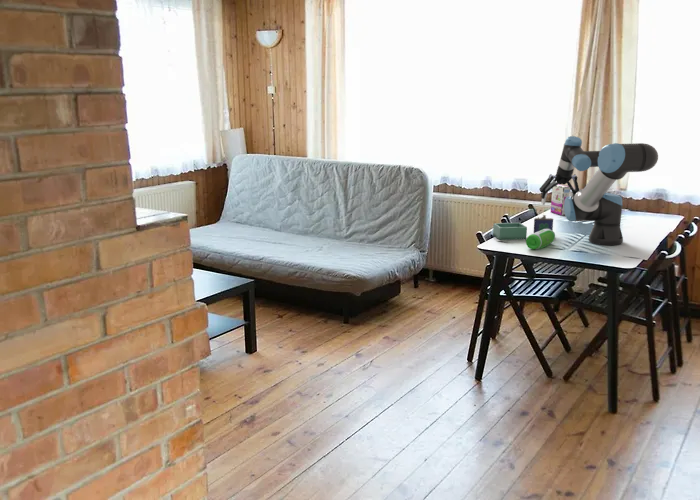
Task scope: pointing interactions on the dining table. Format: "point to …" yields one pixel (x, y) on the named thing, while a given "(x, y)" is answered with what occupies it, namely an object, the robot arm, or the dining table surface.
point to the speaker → (540, 239)
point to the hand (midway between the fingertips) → (555, 203)
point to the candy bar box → (559, 199)
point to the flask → (543, 223)
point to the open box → (509, 231)
